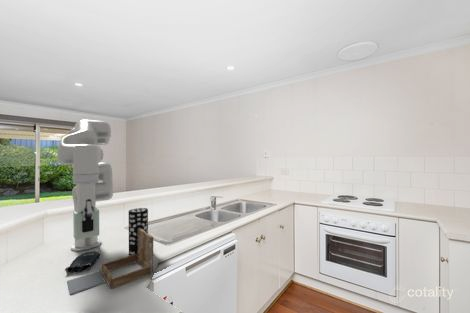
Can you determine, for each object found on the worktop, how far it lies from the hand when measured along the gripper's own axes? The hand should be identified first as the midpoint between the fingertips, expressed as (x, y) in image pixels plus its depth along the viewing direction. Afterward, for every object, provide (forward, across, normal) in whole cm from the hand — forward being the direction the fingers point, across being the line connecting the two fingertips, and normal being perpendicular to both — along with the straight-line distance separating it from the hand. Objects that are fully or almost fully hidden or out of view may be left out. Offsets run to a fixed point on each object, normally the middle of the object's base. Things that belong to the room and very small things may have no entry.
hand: (86, 228), depth 77 cm
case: (+19, +3, +12) cm, 23 cm away
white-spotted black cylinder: (+20, -12, +22) cm, 32 cm away
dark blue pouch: (+20, -17, +2) cm, 26 cm away
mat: (+19, 0, 0) cm, 19 cm away
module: (+3, 0, 0) cm, 3 cm away
